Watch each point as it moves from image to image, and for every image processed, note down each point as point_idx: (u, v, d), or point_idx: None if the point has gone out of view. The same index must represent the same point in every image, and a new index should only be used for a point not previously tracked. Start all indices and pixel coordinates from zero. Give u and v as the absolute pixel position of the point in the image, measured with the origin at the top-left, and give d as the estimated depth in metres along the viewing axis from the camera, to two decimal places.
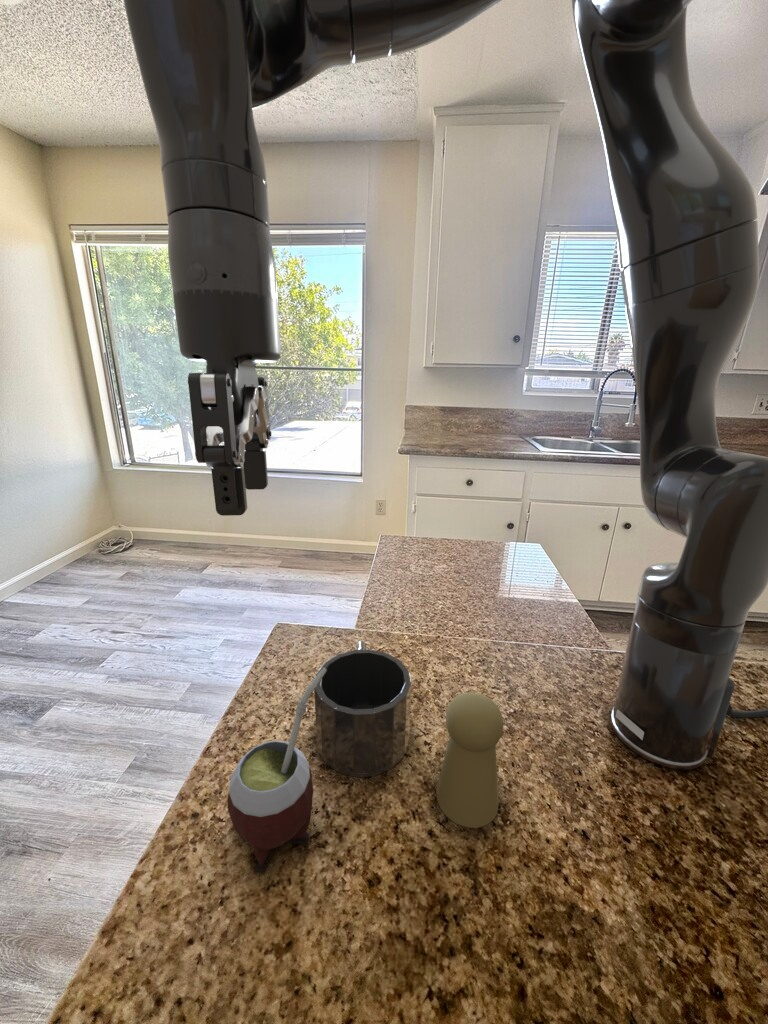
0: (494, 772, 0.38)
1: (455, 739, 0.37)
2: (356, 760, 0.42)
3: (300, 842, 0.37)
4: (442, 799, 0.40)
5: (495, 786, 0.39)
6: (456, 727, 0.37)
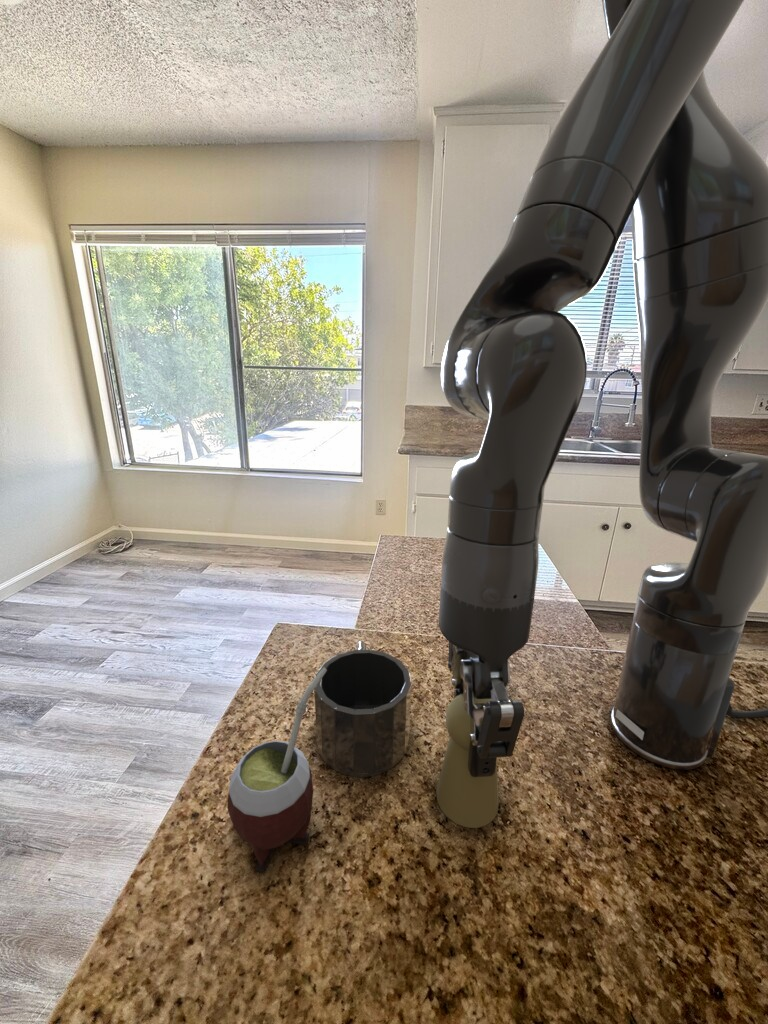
0: None
1: (455, 739, 0.37)
2: (356, 760, 0.42)
3: (300, 842, 0.37)
4: (442, 799, 0.40)
5: (495, 786, 0.39)
6: (456, 727, 0.37)
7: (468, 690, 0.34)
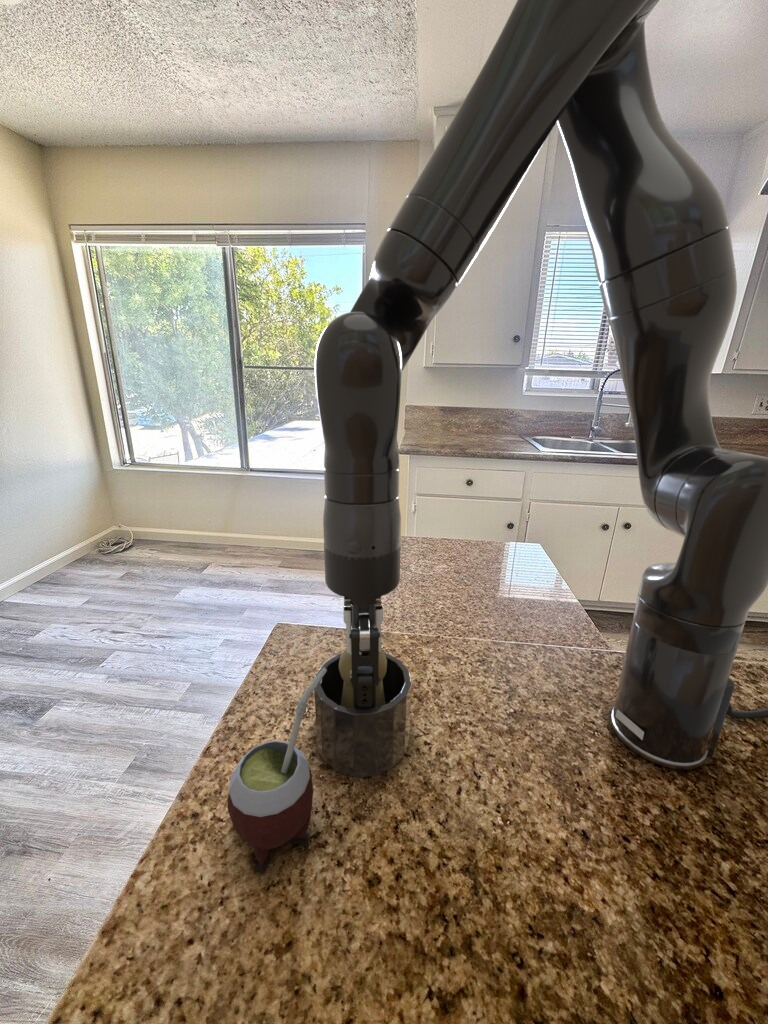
0: None
1: (343, 678, 0.44)
2: (356, 760, 0.42)
3: (300, 842, 0.37)
4: None
5: None
6: (343, 667, 0.43)
7: (347, 630, 0.41)
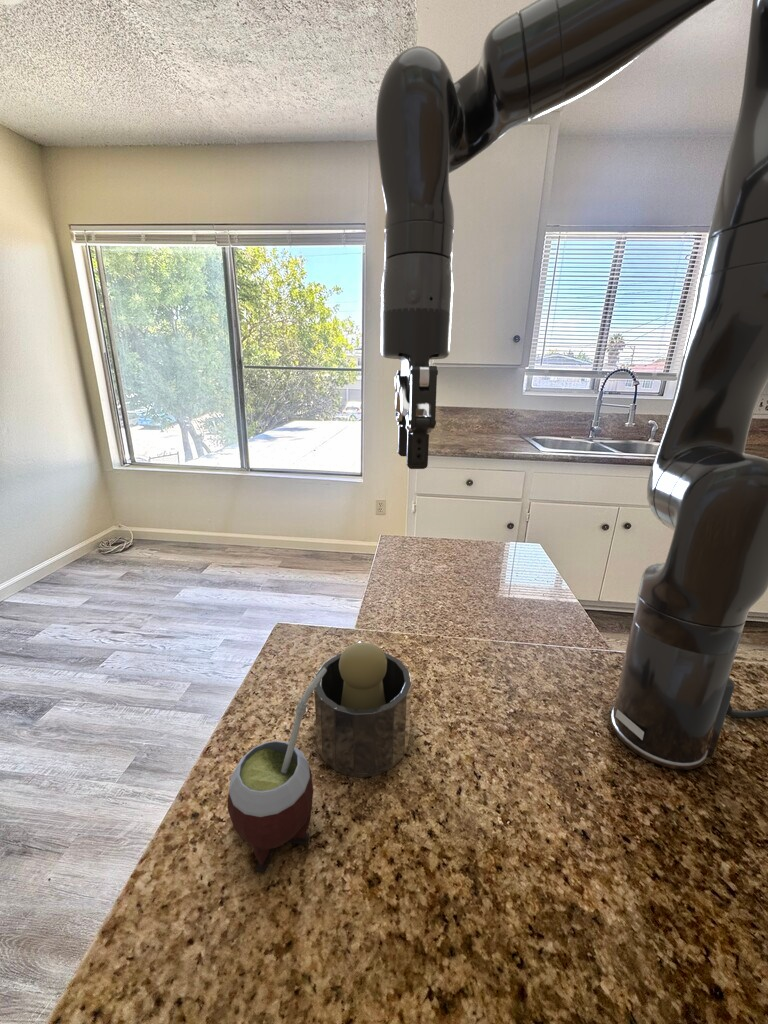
0: None
1: (343, 678, 0.44)
2: (356, 760, 0.42)
3: (300, 842, 0.37)
4: None
5: None
6: (343, 667, 0.43)
7: (402, 392, 0.44)
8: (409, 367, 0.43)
